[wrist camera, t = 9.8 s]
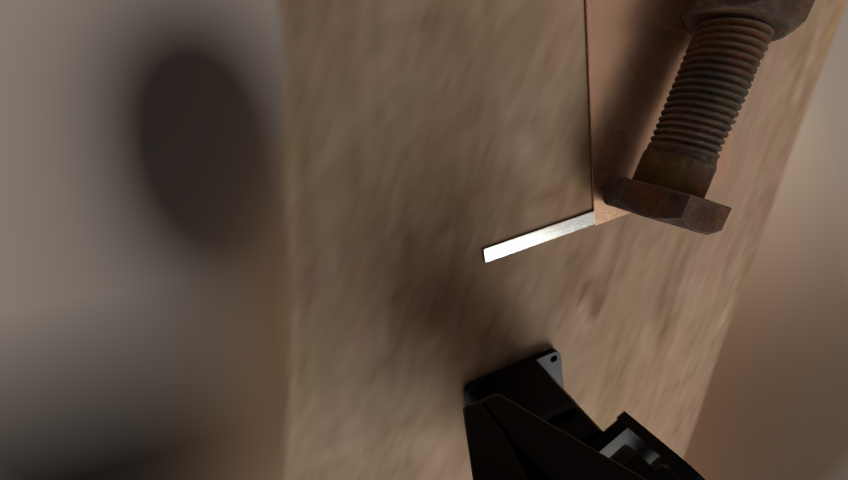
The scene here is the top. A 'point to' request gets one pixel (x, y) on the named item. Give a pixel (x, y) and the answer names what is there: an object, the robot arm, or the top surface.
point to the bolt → (703, 110)
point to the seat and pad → (623, 100)
